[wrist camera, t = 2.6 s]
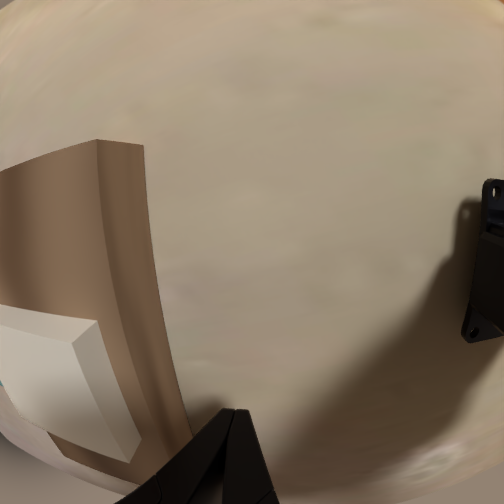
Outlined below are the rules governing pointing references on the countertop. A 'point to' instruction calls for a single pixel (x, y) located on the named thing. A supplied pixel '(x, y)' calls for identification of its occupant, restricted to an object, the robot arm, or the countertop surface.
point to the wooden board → (96, 281)
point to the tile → (65, 381)
